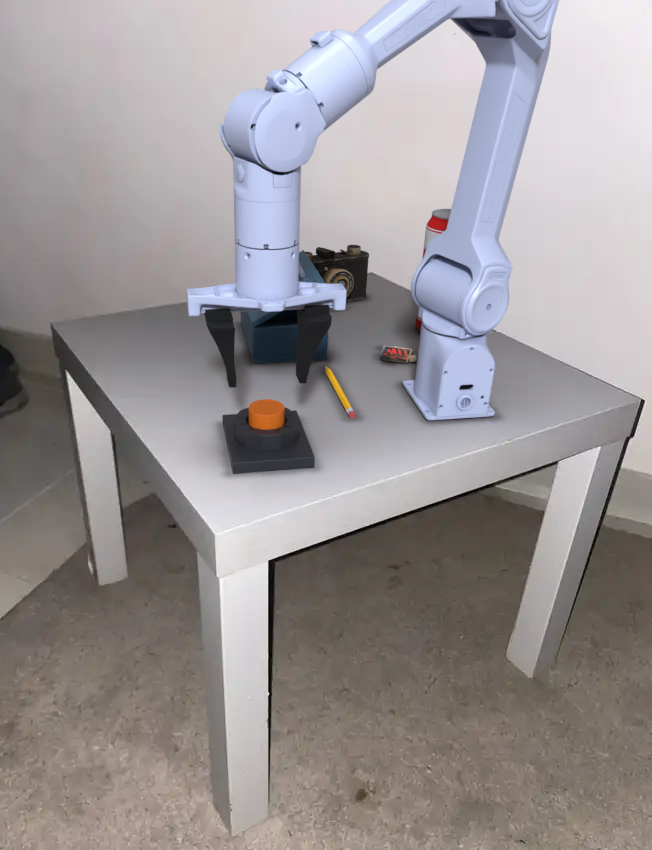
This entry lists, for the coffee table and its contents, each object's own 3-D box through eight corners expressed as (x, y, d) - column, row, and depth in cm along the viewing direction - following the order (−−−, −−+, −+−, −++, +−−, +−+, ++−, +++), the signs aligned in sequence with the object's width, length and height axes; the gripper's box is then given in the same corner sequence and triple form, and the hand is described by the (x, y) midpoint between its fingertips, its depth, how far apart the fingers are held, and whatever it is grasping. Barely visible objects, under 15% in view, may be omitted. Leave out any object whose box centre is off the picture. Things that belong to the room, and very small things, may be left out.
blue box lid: (305, 254, 104) (289, 223, 101) (326, 286, 93) (309, 252, 90) (241, 291, 105) (224, 261, 102) (254, 327, 94) (235, 295, 91)
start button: (287, 430, 76) (287, 414, 76) (251, 432, 76) (250, 416, 75) (281, 413, 79) (281, 398, 79) (246, 415, 79) (246, 400, 78)
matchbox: (380, 363, 97) (381, 359, 97) (378, 347, 101) (378, 343, 101) (417, 364, 97) (418, 360, 97) (413, 348, 101) (413, 345, 101)
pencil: (348, 419, 85) (349, 413, 84) (322, 368, 96) (322, 363, 95) (356, 418, 85) (356, 412, 84) (328, 368, 96) (328, 363, 95)
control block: (314, 467, 76) (315, 441, 74) (232, 473, 74) (232, 446, 73) (296, 419, 84) (296, 395, 82) (222, 424, 82) (221, 399, 81)
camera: (280, 320, 109) (281, 265, 105) (261, 305, 114) (261, 251, 110) (379, 305, 116) (384, 252, 111) (357, 291, 121) (360, 240, 116)
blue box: (307, 321, 109) (308, 289, 106) (327, 360, 98) (328, 324, 95) (240, 324, 107) (240, 291, 105) (253, 363, 96) (253, 328, 94)
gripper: (187, 256, 64) (194, 404, 71) (357, 251, 66) (348, 394, 73) (182, 233, 69) (189, 372, 77) (339, 230, 72) (332, 364, 79)
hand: (266, 381), depth 75 cm, fingers open, 6 cm apart
